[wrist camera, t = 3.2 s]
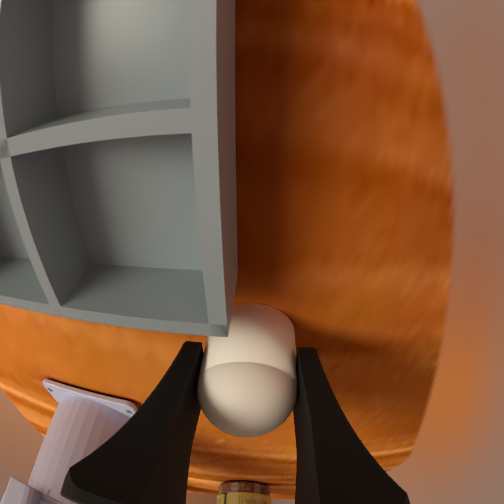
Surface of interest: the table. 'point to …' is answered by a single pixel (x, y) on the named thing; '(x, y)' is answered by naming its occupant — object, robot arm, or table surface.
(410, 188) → the table surface
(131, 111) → the carton
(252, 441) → the table surface
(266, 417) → the egg
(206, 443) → the table surface
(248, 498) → the sauce bottle
